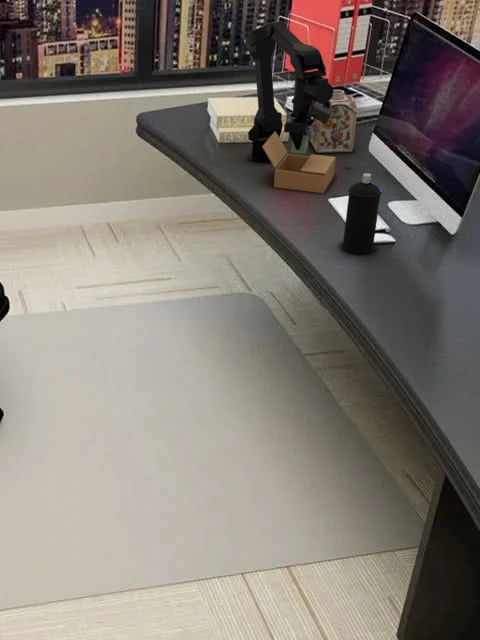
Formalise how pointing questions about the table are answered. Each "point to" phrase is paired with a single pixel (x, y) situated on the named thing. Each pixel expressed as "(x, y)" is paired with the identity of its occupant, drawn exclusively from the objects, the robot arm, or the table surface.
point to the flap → (274, 149)
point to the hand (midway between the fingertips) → (299, 147)
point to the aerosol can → (361, 216)
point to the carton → (305, 173)
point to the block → (303, 145)
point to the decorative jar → (336, 126)
